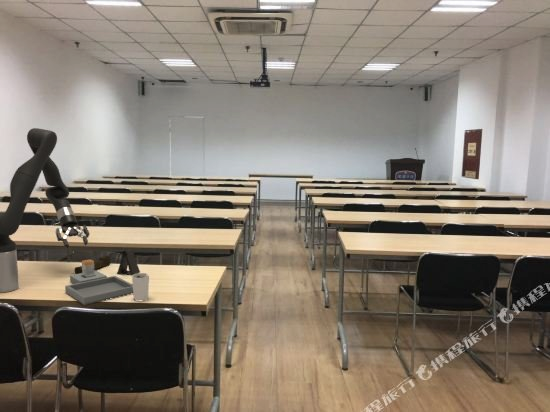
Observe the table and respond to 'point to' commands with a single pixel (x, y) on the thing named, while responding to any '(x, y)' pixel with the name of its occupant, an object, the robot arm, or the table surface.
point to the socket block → (79, 279)
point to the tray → (99, 289)
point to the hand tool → (96, 264)
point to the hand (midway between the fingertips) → (77, 245)
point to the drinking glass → (140, 286)
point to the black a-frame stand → (128, 263)
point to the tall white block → (88, 268)
